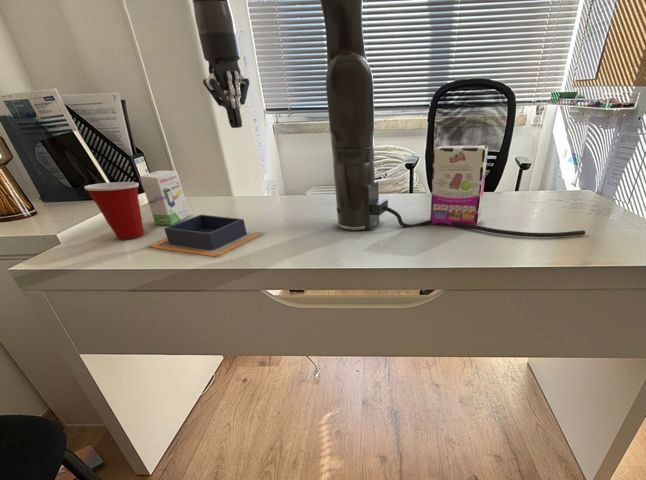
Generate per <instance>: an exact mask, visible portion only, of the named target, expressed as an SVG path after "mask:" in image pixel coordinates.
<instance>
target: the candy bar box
mask: <svg viewBox="0 0 646 480" xmlns="http://www.w3.org/2000/svg"><path fill="white" fill-rule="evenodd" d="M488 153H489V145H438V146H436V147H434V148H433V149H432V156H433V157H432V176H431V198H430V219H429V220H431V221H433V223H432V224H431V225H438V226H450V227H456V226H455V225H452V224H451V223H452V222H460V223H465V224H471V225H477V226H479V224H480V222H481V217H482V206H483V198H484V189H485V179H486V170H487V163H488V162H487V161H488Z"/></svg>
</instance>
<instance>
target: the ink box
mask: <svg viewBox="0 0 646 480" xmlns="http://www.w3.org/2000/svg"><path fill="white" fill-rule="evenodd" d="M139 179H140V182H141V184H142V187H143V191H144V194H145V197H146V199H147V203H148V206H149V208H150V212H151V215H152V218H153V220H154V221H153V222H154V224H155V225H162V226H164V225H165V226H171V225H174V224H177V223H179V222H181V221H183V219H187V218H188V217H189V216H191V215H190V211H189V209H188V205H187V202H186V201H187V200H186V197H185V194H184V191H183V188H182V184H181V180H180V177H179V173H178V171H177V170H165V169H164V170H157V171H153V172H149V173H146V174H143V175H140V177H139Z"/></svg>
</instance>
